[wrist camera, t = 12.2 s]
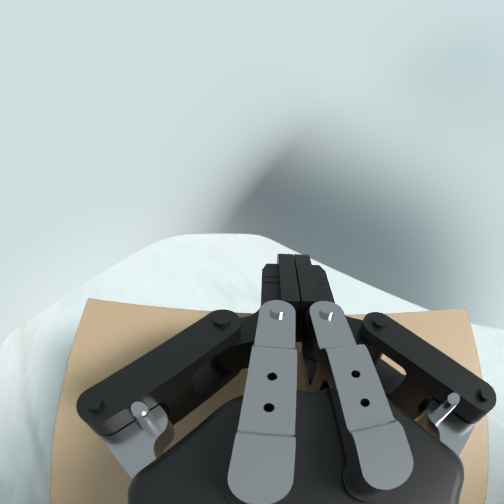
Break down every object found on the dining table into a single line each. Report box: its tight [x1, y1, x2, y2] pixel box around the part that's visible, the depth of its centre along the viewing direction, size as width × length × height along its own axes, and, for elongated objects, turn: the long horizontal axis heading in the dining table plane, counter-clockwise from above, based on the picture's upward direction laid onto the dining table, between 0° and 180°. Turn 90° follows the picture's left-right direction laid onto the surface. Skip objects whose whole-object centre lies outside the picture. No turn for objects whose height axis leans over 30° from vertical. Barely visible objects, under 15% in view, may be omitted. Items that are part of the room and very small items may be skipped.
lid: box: [50, 298, 489, 504], centre depth 7 cm, size 16×21×1 cm
